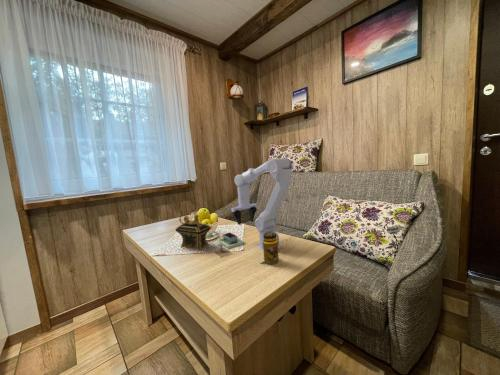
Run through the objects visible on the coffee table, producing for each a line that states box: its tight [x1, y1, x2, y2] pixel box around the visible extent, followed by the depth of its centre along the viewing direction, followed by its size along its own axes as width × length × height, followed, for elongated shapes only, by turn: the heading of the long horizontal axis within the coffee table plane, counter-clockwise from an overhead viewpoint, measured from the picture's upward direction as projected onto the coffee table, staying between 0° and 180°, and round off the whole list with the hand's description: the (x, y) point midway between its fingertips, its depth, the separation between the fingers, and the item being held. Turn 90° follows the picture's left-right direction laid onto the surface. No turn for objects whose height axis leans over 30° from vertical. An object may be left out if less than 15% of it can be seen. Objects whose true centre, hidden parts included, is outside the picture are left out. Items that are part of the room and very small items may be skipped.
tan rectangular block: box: [213, 243, 233, 259], centre depth 100 cm, size 9×6×4 cm, turn 33°
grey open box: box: [222, 232, 238, 245], centre depth 112 cm, size 9×4×4 cm, turn 33°
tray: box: [216, 237, 246, 250], centre depth 112 cm, size 13×10×2 cm
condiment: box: [259, 232, 283, 267], centre depth 89 cm, size 7×8×12 cm
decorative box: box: [175, 208, 212, 251], centre depth 112 cm, size 20×10×20 cm, turn 61°
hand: (245, 222), depth 113 cm, fingers open, 7 cm apart
